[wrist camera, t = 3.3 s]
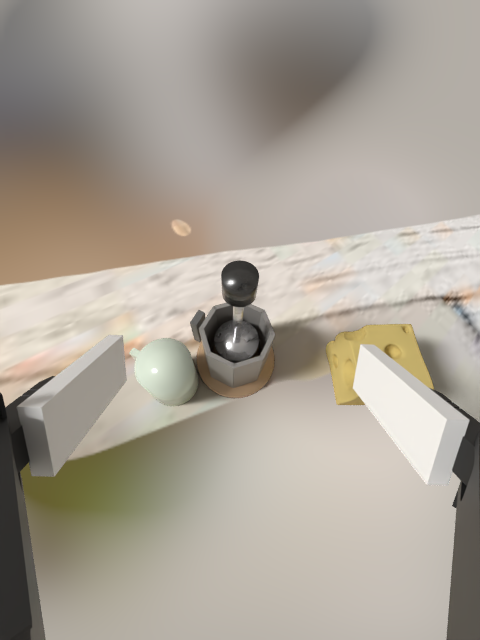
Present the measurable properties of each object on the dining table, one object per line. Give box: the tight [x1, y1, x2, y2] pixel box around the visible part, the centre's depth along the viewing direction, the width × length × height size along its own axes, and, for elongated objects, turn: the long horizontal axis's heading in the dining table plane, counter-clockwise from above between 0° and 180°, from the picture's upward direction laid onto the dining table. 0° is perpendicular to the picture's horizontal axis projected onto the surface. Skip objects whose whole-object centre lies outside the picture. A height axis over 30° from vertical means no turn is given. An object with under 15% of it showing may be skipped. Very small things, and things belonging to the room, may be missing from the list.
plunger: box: [214, 261, 259, 362], centre depth 34 cm, size 6×6×16 cm
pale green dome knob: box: [129, 338, 198, 406], centre depth 42 cm, size 8×10×9 cm
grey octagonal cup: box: [190, 303, 275, 398], centre depth 43 cm, size 13×13×11 cm
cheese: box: [326, 324, 434, 405], centre depth 43 cm, size 10×11×10 cm
